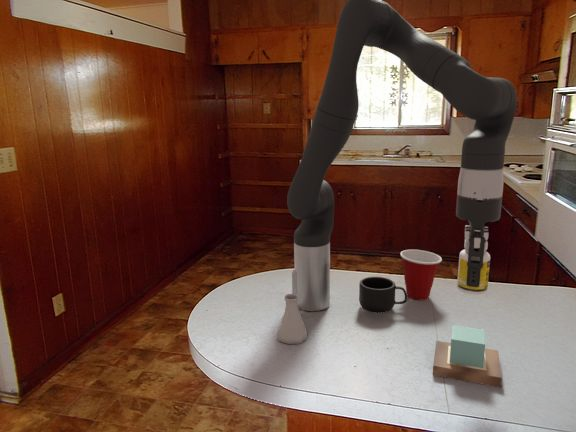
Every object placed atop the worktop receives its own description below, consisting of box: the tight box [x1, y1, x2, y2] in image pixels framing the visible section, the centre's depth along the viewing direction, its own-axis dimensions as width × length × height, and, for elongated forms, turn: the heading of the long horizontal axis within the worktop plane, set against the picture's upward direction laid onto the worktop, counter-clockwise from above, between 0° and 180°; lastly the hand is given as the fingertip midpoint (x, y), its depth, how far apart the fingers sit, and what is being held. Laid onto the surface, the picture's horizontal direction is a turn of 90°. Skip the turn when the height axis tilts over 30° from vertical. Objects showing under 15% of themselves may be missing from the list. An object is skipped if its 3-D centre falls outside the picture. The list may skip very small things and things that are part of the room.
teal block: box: [450, 324, 486, 368], centre depth 88 cm, size 6×6×5 cm
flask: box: [276, 293, 308, 345], centre depth 101 cm, size 7×7×10 cm
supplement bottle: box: [456, 238, 491, 296], centre depth 84 cm, size 5×5×10 cm
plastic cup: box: [400, 249, 443, 301], centre depth 121 cm, size 11×11×12 cm
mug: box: [358, 276, 408, 314], centre depth 114 cm, size 12×9×7 cm
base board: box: [432, 340, 503, 388], centre depth 89 cm, size 12×10×2 cm
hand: (472, 279), depth 85 cm, fingers closed on supplement bottle, 5 cm apart
